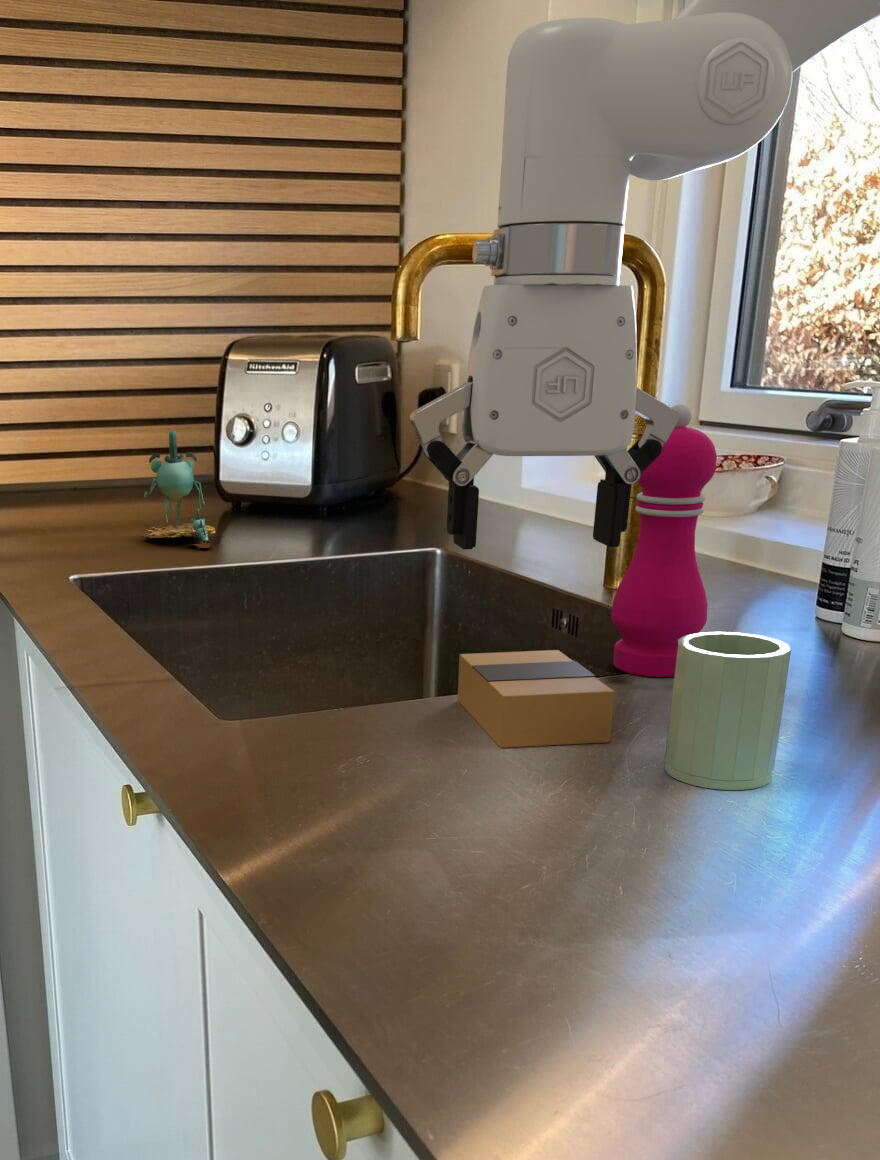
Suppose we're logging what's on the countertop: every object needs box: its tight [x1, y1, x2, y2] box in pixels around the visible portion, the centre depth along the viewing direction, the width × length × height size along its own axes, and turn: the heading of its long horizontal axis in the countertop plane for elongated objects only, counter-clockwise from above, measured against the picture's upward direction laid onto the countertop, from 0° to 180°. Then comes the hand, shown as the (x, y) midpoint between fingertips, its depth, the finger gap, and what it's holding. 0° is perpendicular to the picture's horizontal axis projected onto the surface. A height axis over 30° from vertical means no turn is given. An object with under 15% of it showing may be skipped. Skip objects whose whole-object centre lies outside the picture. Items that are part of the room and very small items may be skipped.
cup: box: [664, 631, 792, 791], centre depth 73 cm, size 6×6×8 cm
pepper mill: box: [610, 404, 717, 678], centre depth 93 cm, size 7×7×20 cm
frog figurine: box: [143, 429, 216, 550], centre depth 156 cm, size 10×18×15 cm, turn 13°
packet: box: [457, 649, 615, 749], centre depth 84 cm, size 11×7×4 cm
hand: (535, 544), depth 80 cm, fingers open, 9 cm apart
